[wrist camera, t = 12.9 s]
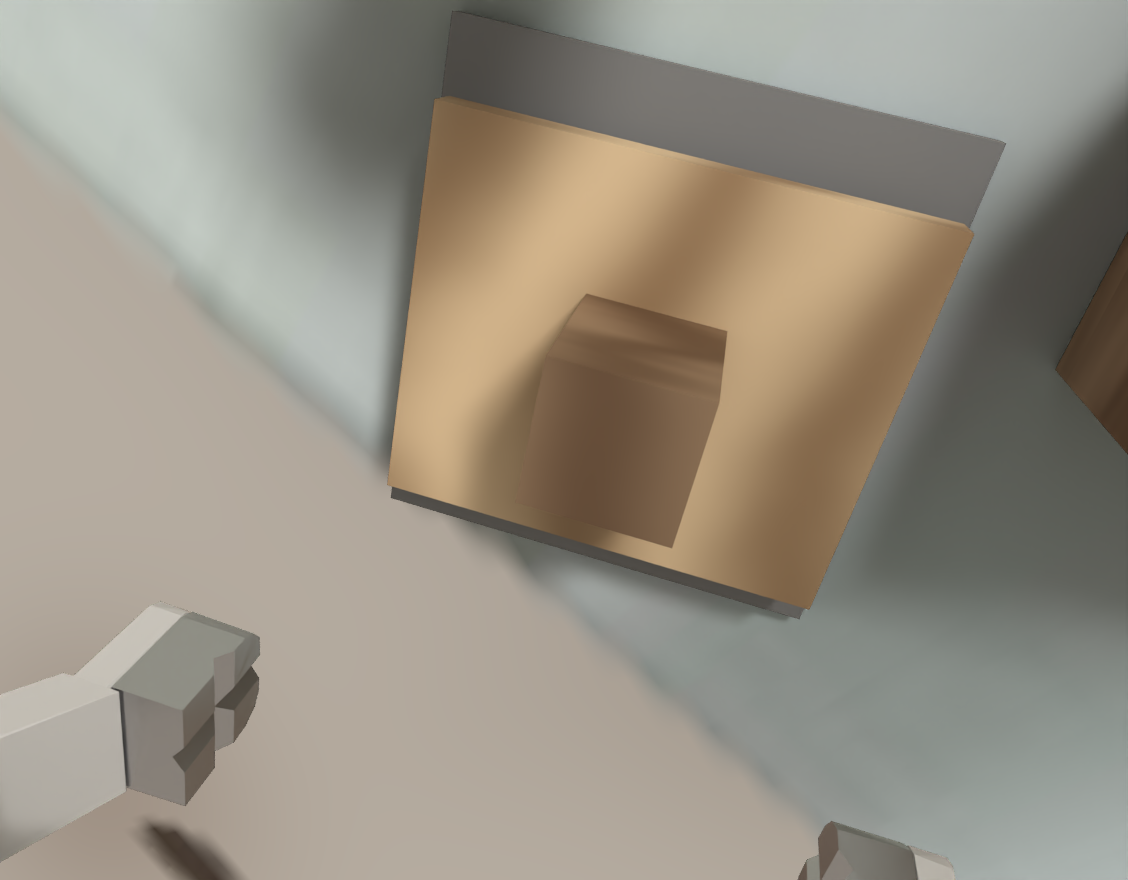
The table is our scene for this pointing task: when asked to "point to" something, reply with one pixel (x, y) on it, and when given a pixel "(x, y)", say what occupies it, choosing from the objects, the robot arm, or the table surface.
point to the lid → (656, 346)
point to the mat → (709, 158)
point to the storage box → (1103, 351)
